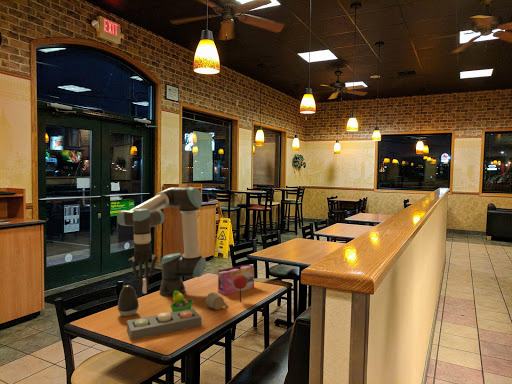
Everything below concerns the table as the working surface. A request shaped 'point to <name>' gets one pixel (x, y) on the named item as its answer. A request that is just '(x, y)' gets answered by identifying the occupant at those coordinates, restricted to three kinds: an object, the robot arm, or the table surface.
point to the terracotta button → (186, 314)
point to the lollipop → (240, 282)
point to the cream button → (164, 317)
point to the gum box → (228, 277)
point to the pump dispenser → (128, 301)
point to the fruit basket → (180, 302)
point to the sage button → (141, 322)
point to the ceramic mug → (215, 301)
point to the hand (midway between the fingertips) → (144, 292)
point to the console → (163, 325)
